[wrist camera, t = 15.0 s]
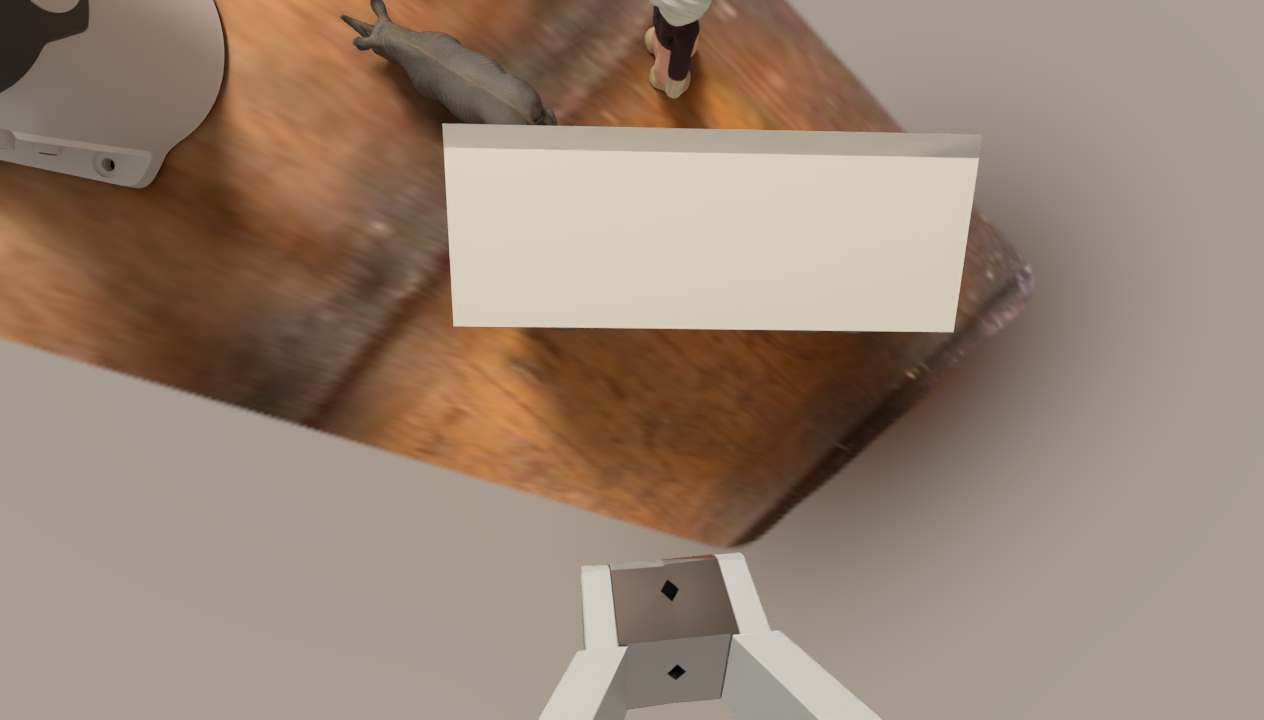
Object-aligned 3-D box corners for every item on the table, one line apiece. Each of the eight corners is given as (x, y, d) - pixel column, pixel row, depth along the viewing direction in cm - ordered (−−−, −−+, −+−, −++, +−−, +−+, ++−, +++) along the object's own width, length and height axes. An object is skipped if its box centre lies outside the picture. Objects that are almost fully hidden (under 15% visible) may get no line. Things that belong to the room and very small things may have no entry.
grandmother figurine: (710, 101, 40) (751, 48, 27) (655, 118, 40) (672, 73, 28) (680, -22, 38) (709, -138, 26) (623, -4, 38) (625, -110, 26)
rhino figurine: (376, -4, 38) (332, -44, 32) (565, 109, 40) (556, 90, 34) (350, 57, 39) (303, 28, 33) (537, 165, 41) (523, 155, 35)
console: (510, 297, 42) (454, 338, 28) (506, 157, 40) (442, 123, 26) (839, 301, 43) (951, 344, 29) (852, 164, 41) (982, 134, 26)
